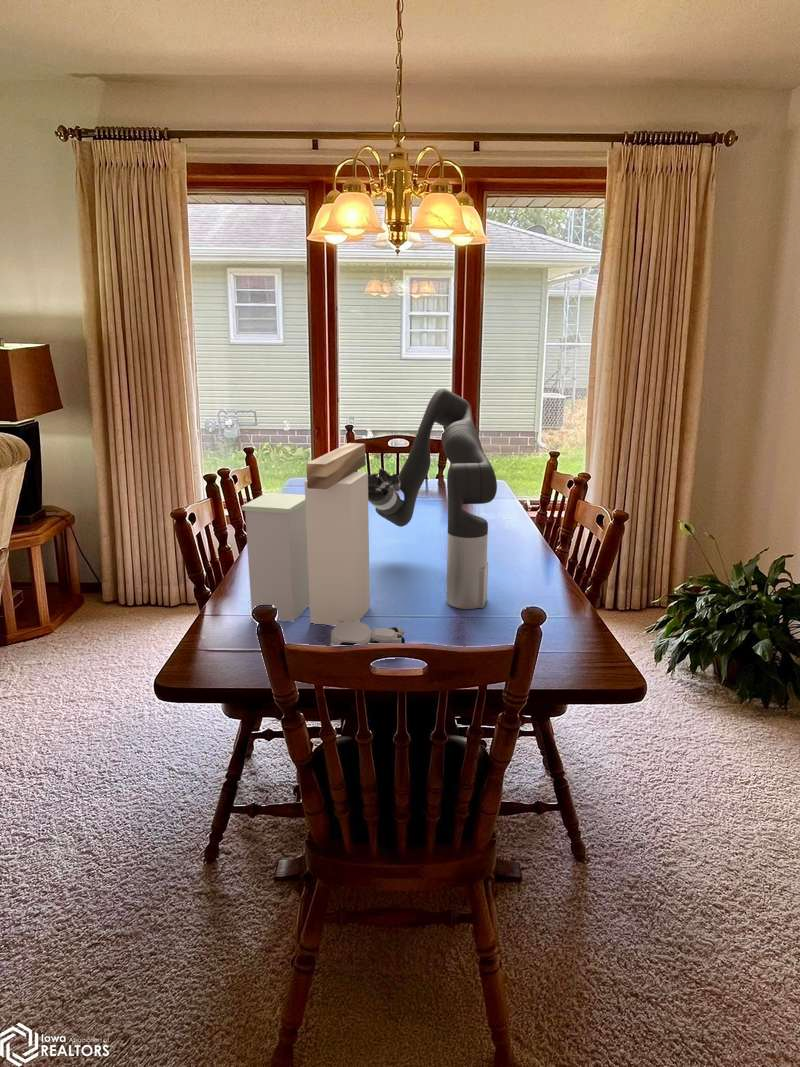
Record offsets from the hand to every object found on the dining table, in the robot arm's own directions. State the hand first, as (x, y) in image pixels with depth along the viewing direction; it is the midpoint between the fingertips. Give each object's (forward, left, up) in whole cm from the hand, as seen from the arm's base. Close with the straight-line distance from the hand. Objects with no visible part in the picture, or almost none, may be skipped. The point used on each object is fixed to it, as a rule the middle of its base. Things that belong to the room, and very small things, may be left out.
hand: (363, 471), depth 170 cm
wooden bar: (0, +17, +2) cm, 18 cm away
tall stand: (0, +18, -30) cm, 35 cm away
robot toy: (-11, +34, -30) cm, 46 cm away
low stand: (+14, +18, -30) cm, 38 cm away
